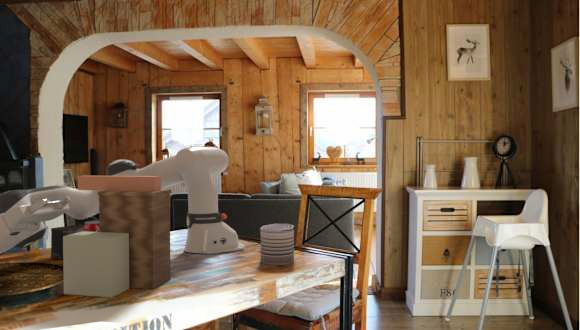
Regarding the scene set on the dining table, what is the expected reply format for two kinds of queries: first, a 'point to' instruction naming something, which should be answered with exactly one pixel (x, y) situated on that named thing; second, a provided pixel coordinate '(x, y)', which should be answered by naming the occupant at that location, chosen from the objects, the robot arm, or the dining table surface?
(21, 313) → the dining table surface
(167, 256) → the tall stand
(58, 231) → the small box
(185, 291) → the dining table surface
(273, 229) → the can
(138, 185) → the rail
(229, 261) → the dining table surface
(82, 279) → the low block
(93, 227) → the soda can
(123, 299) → the dining table surface
